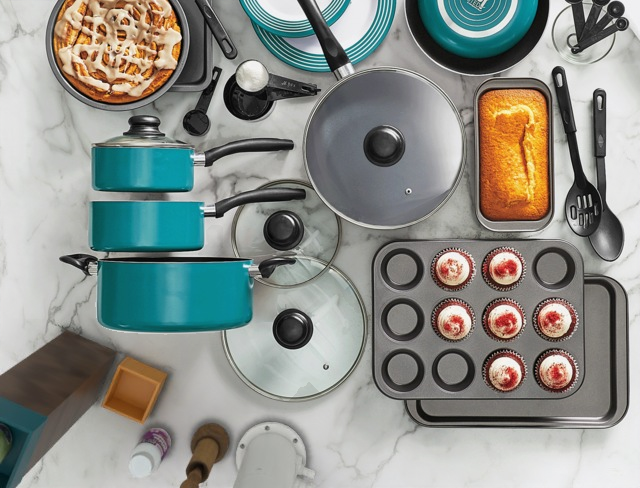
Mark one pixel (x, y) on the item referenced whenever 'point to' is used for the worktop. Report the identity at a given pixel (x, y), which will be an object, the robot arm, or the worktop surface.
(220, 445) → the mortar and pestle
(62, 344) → the riser
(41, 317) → the worktop surface
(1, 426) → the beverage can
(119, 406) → the amber bin
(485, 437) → the worktop surface
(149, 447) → the pill bottle
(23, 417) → the teal bin
